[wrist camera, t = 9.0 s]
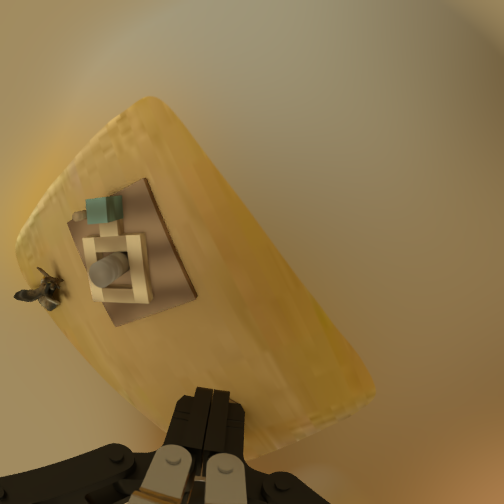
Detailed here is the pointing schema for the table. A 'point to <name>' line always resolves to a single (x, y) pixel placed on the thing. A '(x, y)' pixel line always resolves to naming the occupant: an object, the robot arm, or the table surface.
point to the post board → (158, 251)
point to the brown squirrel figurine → (42, 292)
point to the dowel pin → (79, 215)
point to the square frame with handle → (116, 240)
